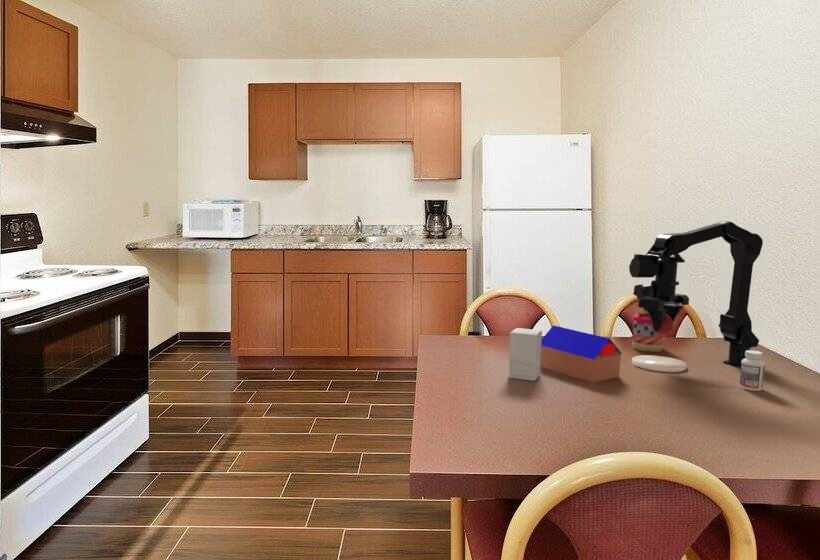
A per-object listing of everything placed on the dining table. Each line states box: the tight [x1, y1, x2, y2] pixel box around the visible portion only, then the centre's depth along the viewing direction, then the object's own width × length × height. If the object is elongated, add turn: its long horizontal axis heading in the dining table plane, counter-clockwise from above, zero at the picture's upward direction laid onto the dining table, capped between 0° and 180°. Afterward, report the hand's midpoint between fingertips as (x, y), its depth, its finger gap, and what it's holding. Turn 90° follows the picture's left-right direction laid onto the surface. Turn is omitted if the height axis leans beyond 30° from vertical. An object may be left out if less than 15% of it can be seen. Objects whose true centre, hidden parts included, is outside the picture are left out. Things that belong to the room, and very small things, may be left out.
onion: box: [652, 314, 674, 337], centre depth 179 cm, size 6×6×8 cm
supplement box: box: [508, 327, 543, 382], centre depth 165 cm, size 7×7×13 cm
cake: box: [630, 308, 667, 353], centre depth 202 cm, size 10×10×15 cm
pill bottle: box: [739, 350, 766, 392], centre depth 159 cm, size 5×5×10 cm
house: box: [540, 325, 623, 384], centre depth 172 cm, size 12×20×12 cm, turn 34°
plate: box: [631, 354, 688, 373], centre depth 181 cm, size 15×15×1 cm
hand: (661, 330), depth 180 cm, fingers closed on onion, 6 cm apart
